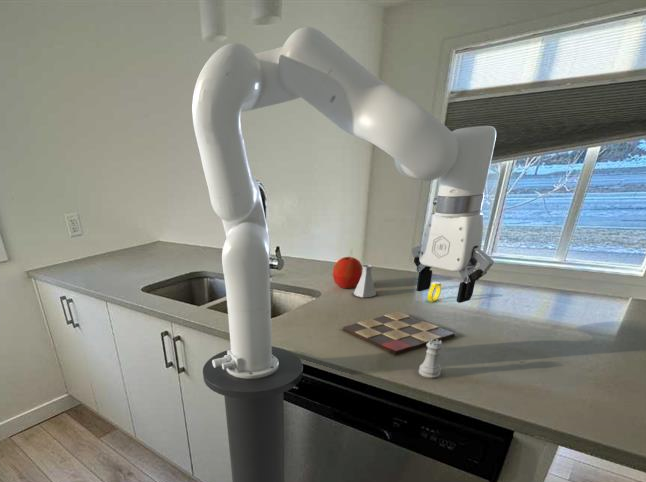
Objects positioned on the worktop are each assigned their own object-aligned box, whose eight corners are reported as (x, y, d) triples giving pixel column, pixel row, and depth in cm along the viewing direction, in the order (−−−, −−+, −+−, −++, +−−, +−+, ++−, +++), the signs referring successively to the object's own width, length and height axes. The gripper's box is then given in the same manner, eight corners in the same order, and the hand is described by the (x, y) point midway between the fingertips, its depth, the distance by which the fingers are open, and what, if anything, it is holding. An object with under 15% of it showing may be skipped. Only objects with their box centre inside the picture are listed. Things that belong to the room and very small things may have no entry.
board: (395, 355, 99) (396, 350, 98) (342, 330, 115) (343, 326, 115) (454, 336, 105) (455, 332, 105) (396, 315, 122) (397, 311, 121)
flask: (367, 290, 144) (370, 262, 140) (380, 295, 138) (383, 266, 133) (349, 293, 143) (351, 265, 138) (361, 299, 137) (364, 269, 132)
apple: (327, 289, 150) (329, 257, 144) (339, 282, 156) (341, 251, 150) (353, 292, 144) (356, 259, 138) (365, 285, 150) (368, 253, 144)
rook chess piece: (442, 379, 88) (449, 345, 84) (420, 378, 88) (426, 345, 84) (437, 369, 91) (443, 337, 87) (415, 369, 92) (421, 337, 88)
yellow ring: (432, 304, 127) (436, 285, 124) (424, 302, 129) (427, 284, 126) (441, 299, 130) (444, 281, 128) (432, 297, 132) (436, 279, 129)
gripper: (406, 205, 80) (396, 289, 89) (488, 211, 66) (467, 310, 75) (434, 200, 83) (421, 283, 91) (519, 205, 69) (495, 302, 77)
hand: (442, 295), depth 83 cm, fingers open, 9 cm apart
